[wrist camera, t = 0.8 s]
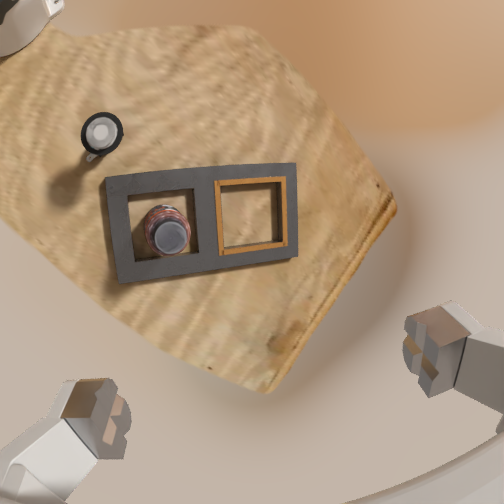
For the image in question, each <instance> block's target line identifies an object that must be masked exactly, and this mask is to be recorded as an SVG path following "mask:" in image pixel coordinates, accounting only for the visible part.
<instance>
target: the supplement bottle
mask: <svg viewBox="0 0 504 504" xmlns="http://www.w3.org/2000/svg"><path fill="white" fill-rule="evenodd" d="M144 229H145V236H146V240H147V242H148V244H149V246H150V248H151V249H152V250H153V251H155V252H156V253H158V254H160V255H163V256H172V255H176V254H178V253H180V252H181V251H183V250H184V249H185V248H186V246H187V245H188V243H189V241H190V236H191V230H190V225H189V223H188V221H187V219H186V218H185V217H184V216H183V215H182V214H181V213H180V212H179V211H178V210H177V209H176V208H174V207H172V206H169V205H158V206H156V207H154V208H152V209H151V210H150V211H149V212H148V213H147V215H146V217H145V221H144Z"/></svg>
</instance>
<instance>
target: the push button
mask: <svg viewBox="0 0 504 504" xmlns="http://www.w3.org/2000/svg"><path fill="white" fill-rule="evenodd" d="M115 124H116V125H117V126H116V125H115ZM123 135H124V133H123V127H122V124H121V122H120V120H119V119H118V118H117V117H116V116H115V115H113V114H111V113H108V112H100V113H97V114H94V115H92V116H91V117H90V118H88V119H87V121H86V122H85V123H84V125H83V127H82V130H81V141H82V144H83V146H84V147H85V149H86V150H87V151H89V152H90V154H89V155H88V156H87V158H86V160H87V161H88V162H91V161H92V160H93V159H94V158H95V157H97V156H98V155H99V156H100V157H101V156H103V155H105V154H108V153H110V152H112V151H113V150H115V149H116V148H117V147H118V145H119V144H120V142H121V140H122V136H123ZM89 144H90V145H89ZM89 157H91V159H89Z"/></svg>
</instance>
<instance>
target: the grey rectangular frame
mask: <svg viewBox="0 0 504 504" xmlns="http://www.w3.org/2000/svg"><path fill="white" fill-rule="evenodd" d="M105 181H106V192H107V203H108V212H109V221H110V229H111V236H112V244H113V251H114V257H115V264H116V270H117V276H118V281H119V284H122V283H129V282H136V281H143V280H150V279H156V278H163V277H170V276H176V275H183V274H190V273H196V272H203V271H209V270H216V269H222V268H229V267H235V266H242V265H248V264H254V263H261V262H267V261H273V260H280V259H286V258H292V257H298V210H297V174H296V163H267V164H243V165H225V166H210V167H196V168H184V169H173V170H163V171H153V172H144V173H135V174H127V175H119V176H111V177H105ZM264 182H276V183H277V211H278V240H274V241H267V242H259V243H252V244H245V245H237V246H230V247H224V239H223V224H222V208H221V191H220V186H222V185H235V184H249V183H264ZM187 188H192V190H193V204H194V217H195V230H196V241H197V251H193V252H186V253H179V254H176V255H172V256H158V257H151V258H144V259H136V260H135V257H134V250H133V243H132V235H131V226H130V218H129V208H128V198H127V195H134V194H142V193H150V192H159V191H168V190H178V189H187Z"/></svg>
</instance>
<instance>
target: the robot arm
mask: <svg viewBox="0 0 504 504" xmlns="http://www.w3.org/2000/svg"><path fill="white" fill-rule="evenodd" d="M57 1H59V2H58V3H56V4H55V2H57ZM63 9H64V0H0V57H2V56H7V55H10V54H12V53H14V52H16V51H18V50H20V49H22V48H23V47H25V46H26V45H27V44H29V43H30V42H31V41H32V40H33V39H34V38H35V37H36V36H37V35H38V34H39V33H40V32H41V31H42V29H43V28H44V27H45V25H46V24H47V23H48V22H49V21H50V20H51V19H53V18H54V17H55V16H57V15H58V14H60V13H61V12H62V10H63ZM404 330H405V331H406V332H407V333H408V335H407V337H406V338H405V340H404V341H403V356H404V360H405V363H406V365H407V367H408V369H409V370H410V372H411V373H414V374H416V375H419V380H418V384H419V385H420V386H421V388H422V389H423V391H424V392H425V394H426V395H427V397H428V398H430V397H433V396H435V395H438V394H440V393H443V392H445V391H447V390H449V389H452V388H454V389H455V390H457V391H458V392H461V393H462V394H465V395H466V396H469V397H470V398H473V399H474V400H477V401H478V402H480V403H482V404H484V405H486V406H488V407H490V408H492V409H494V410H496V411H498V412H500V413H502V414H503V416H502V418H501V420H500V422H499V424H498V425H497V428H496V433H497V435H496V436H494V437H492V438H491V439H489V440H488V441H486V442H484V443H483V444H481V445H479V446H478V447H476V448H474V449H472V450H471V451H469V452H467V453H465V454H463V455H461V456H460V457H458V458H456V459H454V460H452V461H450V462H448V463H446V464H444V465H442V466H440V467H438V468H436V469H434V470H431V471H430V472H427V473H425V474H423V475H420V476H418V477H416V478H413V479H411V480H409V481H406V482H404V483H401V484H399V485H396V486H394V487H391V488H388V489H386V490H383V491H380V492H377V493H374V494H371V495H368V496H365V497H362V498H360V499H356V500H353V501H349V502H346V503H342V504H504V330H500V329H496V328H492V327H487V328H484V327H483V326H482V325H481V324H480V323H479V322H477V320H476V319H474V318H473V317H472V316H471V315H470V314H469V313H468V312H466V311H465V310H464V309H463V308H462V307H461V306H460V305H458V304H457V303H456V302H455V301H448V302H445V303H443V304H440V305H438V306H436V307H433V308H431V309H428V310H425V311H422V312H419V313H416V314H413V315H410V316H407V318H406V320H405V326H404ZM117 390H118V388H117V386H116V384H115V383H114V381H113V380H112V379H109V378H100V379H81V380H67V381H65V382H63V384H62V386H61V388H60V390H59V392H58V394H57V396H56V398H55V400H54V402H53V404H52V406H51V408H50V410H49V412H48V414H47V416H46V418H41V419H40V420H39V421H37V422H36V423H35V424H34V425H32V426H31V427H30V428H29V429H27V430H26V431H25V432H23V433H22V434H21V435H20V436H18V437H17V438H16V439H15V440H13V441H12V442H11V443H10V444H8V445H7V446H6V447H4V448H3V449H2V450H1V451H0V504H67V503H66V502H64V501H65V500H66V499H67V498H68V497H69V495H70V494H71V493H72V492H73V491H74V489H75V488H76V487H77V486H78V485H79V483H80V482H81V481H82V480H83V479H84V477H85V476H86V475H87V474H88V472H89V471H90V470H91V469H92V468H93V466H94V465H95V464H96V463H97V462H98V459H123V457H124V453H125V448H126V444H127V440H126V439H125V437H124V435H125V434H126V433H127V432H128V431H129V430H130V426H131V412H130V409H129V406H128V404H127V402H126V401H125V399H124V398H122V397H120V396H119V395H118V394H117Z"/></svg>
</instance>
